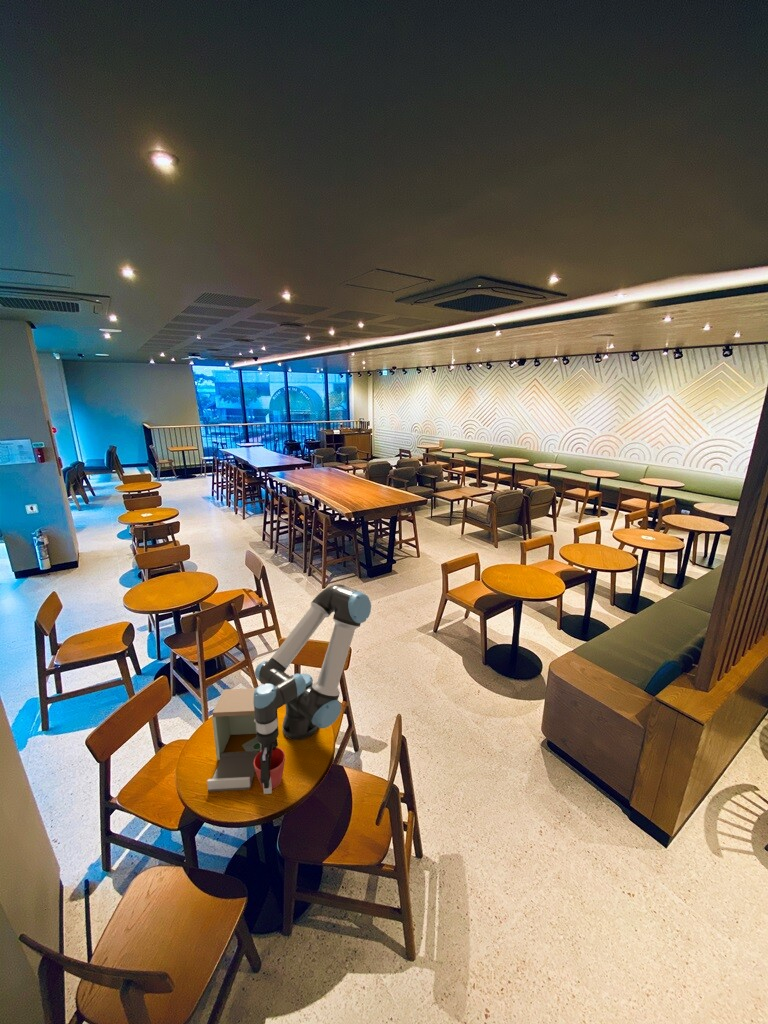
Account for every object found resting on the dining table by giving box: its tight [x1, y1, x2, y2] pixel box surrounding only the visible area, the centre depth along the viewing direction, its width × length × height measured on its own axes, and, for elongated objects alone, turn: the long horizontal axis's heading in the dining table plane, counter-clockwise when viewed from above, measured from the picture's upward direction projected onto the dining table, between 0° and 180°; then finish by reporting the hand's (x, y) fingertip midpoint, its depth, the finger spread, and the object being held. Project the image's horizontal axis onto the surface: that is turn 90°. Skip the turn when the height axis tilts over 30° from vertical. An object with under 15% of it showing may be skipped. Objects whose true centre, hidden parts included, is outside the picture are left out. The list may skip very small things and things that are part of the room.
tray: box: [206, 750, 260, 792], centre depth 146 cm, size 15×14×4 cm
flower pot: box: [254, 746, 286, 790], centre depth 143 cm, size 11×11×10 cm
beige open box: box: [211, 687, 262, 761], centre depth 158 cm, size 18×14×21 cm
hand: (271, 780), depth 144 cm, fingers closed on flower pot, 9 cm apart
